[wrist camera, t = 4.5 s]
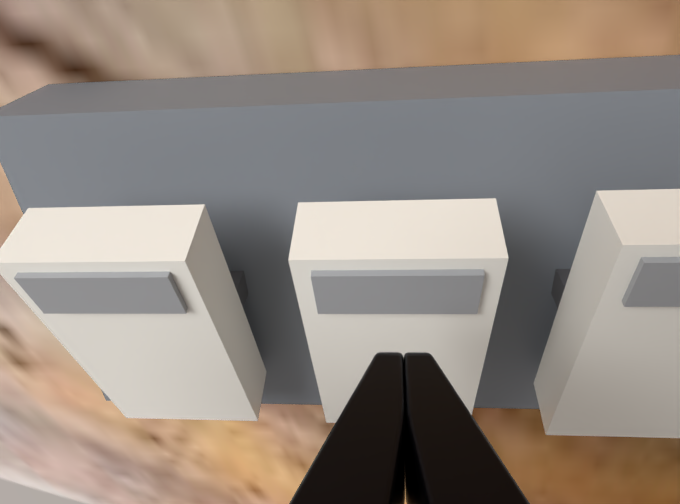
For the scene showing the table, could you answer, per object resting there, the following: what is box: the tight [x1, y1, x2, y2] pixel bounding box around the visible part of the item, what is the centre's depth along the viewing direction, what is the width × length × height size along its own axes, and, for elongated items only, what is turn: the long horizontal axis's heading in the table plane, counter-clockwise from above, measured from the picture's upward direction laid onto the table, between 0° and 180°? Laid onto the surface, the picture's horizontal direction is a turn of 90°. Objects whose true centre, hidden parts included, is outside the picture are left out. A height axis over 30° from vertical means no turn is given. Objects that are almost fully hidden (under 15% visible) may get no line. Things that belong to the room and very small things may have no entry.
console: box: [0, 55, 680, 409], centre depth 15 cm, size 10×20×4 cm, turn 94°
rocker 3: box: [534, 189, 680, 438], centre depth 12 cm, size 7×4×2 cm, turn 4°
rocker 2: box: [288, 198, 509, 423], centre depth 12 cm, size 7×4×2 cm, turn 4°
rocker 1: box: [0, 204, 267, 421], centre depth 13 cm, size 7×4×2 cm, turn 4°
